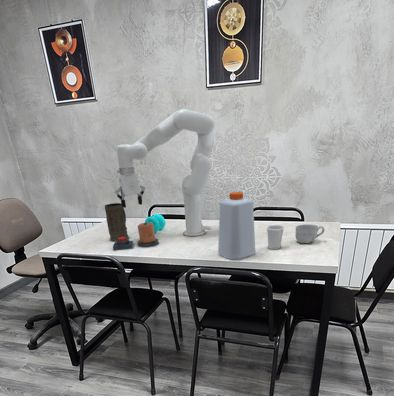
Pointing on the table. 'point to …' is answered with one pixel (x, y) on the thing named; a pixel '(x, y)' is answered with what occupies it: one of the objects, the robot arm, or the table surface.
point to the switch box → (123, 245)
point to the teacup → (307, 233)
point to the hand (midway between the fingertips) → (132, 205)
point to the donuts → (156, 222)
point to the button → (122, 239)
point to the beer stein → (116, 221)
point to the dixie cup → (274, 236)
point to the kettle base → (148, 243)
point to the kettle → (146, 232)
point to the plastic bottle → (236, 227)
